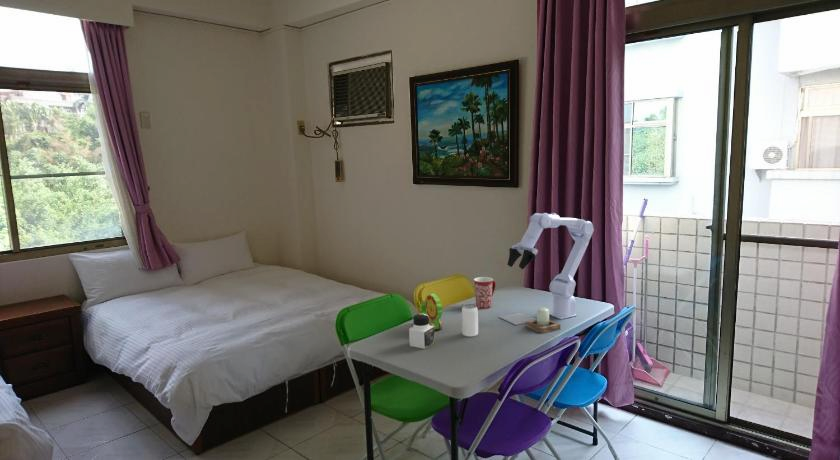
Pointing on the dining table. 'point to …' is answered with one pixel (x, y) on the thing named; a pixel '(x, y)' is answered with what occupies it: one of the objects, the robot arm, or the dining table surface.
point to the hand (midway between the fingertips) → (515, 266)
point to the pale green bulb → (542, 317)
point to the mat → (517, 318)
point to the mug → (484, 291)
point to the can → (469, 320)
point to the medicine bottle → (421, 332)
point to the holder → (550, 327)
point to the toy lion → (433, 310)
